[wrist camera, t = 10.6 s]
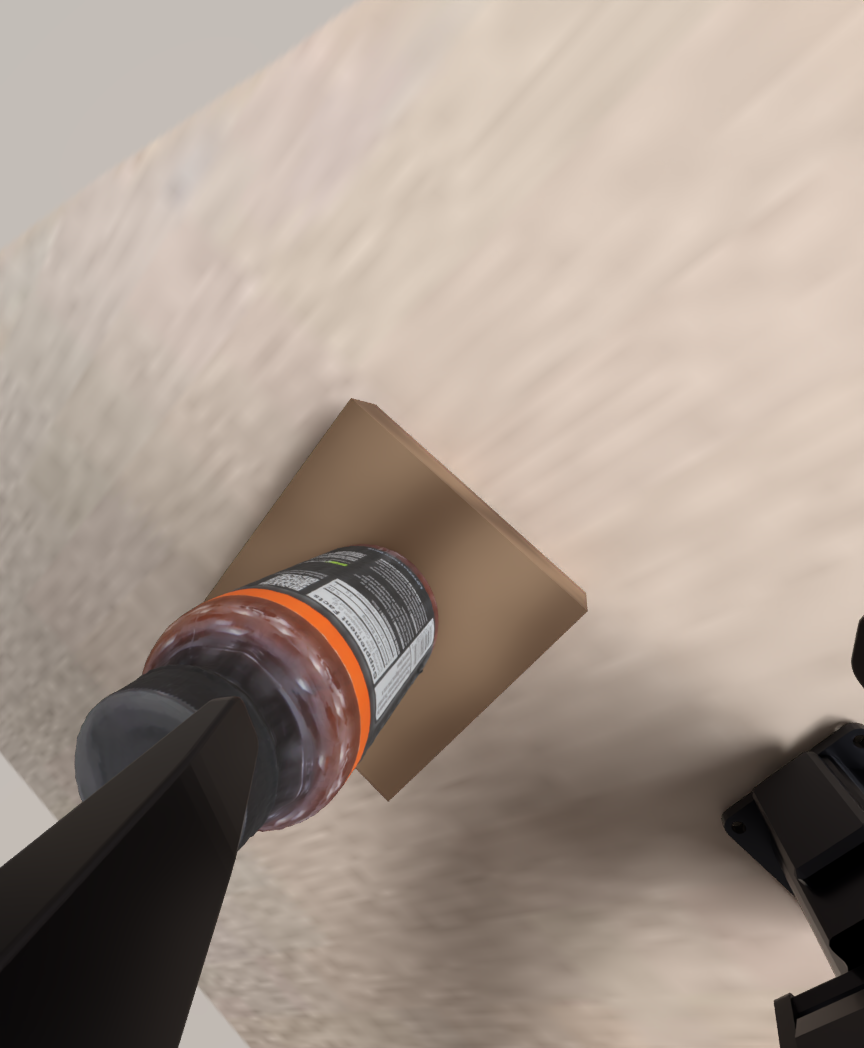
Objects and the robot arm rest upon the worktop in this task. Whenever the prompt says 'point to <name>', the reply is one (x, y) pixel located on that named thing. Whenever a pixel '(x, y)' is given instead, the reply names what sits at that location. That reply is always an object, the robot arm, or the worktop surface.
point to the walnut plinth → (443, 559)
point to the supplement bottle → (281, 677)
